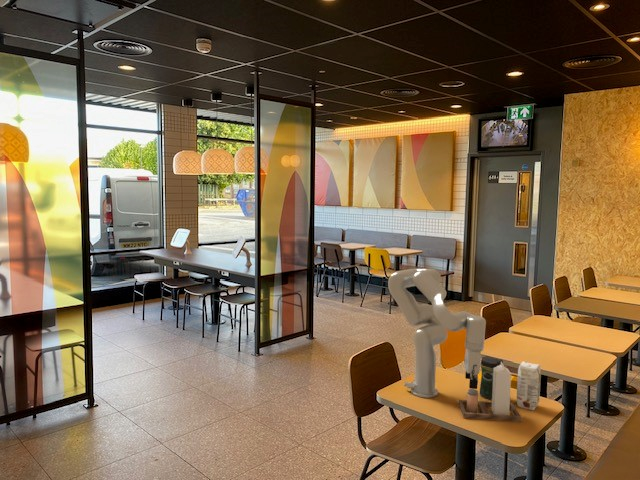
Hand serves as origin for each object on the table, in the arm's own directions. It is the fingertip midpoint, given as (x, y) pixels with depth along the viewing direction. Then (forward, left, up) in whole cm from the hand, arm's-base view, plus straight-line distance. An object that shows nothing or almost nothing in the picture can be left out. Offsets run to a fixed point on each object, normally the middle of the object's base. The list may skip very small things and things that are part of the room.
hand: (471, 383), depth 205 cm
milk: (+12, -1, -12) cm, 18 cm away
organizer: (+8, -1, -12) cm, 14 cm away
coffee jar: (+12, +16, -12) cm, 24 cm away
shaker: (+1, -1, -12) cm, 12 cm away
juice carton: (+26, +8, -12) cm, 30 cm away
